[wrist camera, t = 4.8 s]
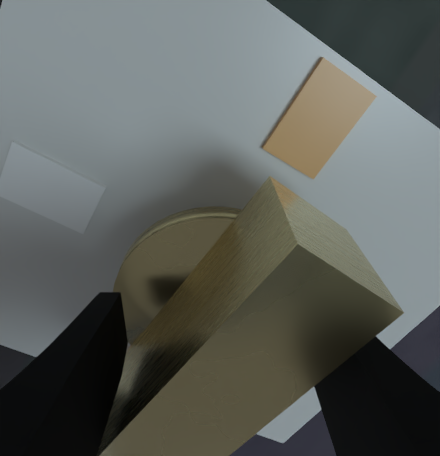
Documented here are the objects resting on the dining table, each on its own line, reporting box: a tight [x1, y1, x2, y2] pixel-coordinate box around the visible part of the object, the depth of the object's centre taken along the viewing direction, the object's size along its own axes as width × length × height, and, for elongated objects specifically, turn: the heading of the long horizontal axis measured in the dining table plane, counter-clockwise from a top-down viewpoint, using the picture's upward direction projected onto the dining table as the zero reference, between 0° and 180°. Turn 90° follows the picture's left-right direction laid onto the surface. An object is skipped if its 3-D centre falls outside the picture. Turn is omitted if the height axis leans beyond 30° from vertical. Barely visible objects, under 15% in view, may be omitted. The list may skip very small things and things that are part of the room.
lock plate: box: [0, 0, 440, 443], centre depth 13 cm, size 16×18×2 cm
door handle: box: [97, 176, 404, 456], centre depth 10 cm, size 6×9×4 cm
